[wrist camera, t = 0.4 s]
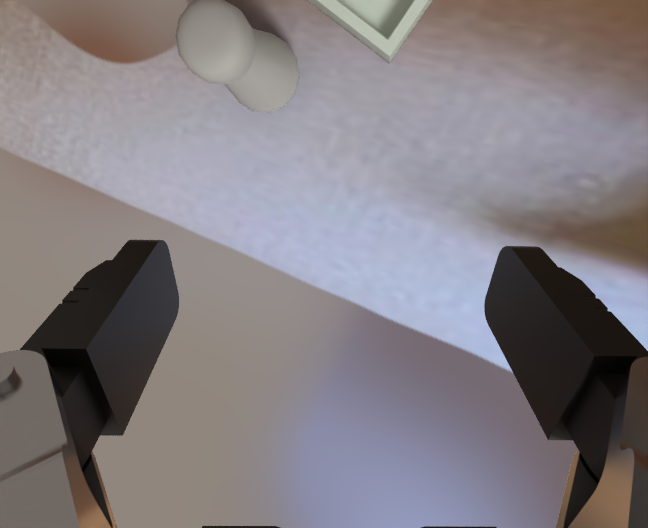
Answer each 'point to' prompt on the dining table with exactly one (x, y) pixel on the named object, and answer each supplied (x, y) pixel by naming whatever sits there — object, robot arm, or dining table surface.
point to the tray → (376, 21)
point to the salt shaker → (237, 55)
